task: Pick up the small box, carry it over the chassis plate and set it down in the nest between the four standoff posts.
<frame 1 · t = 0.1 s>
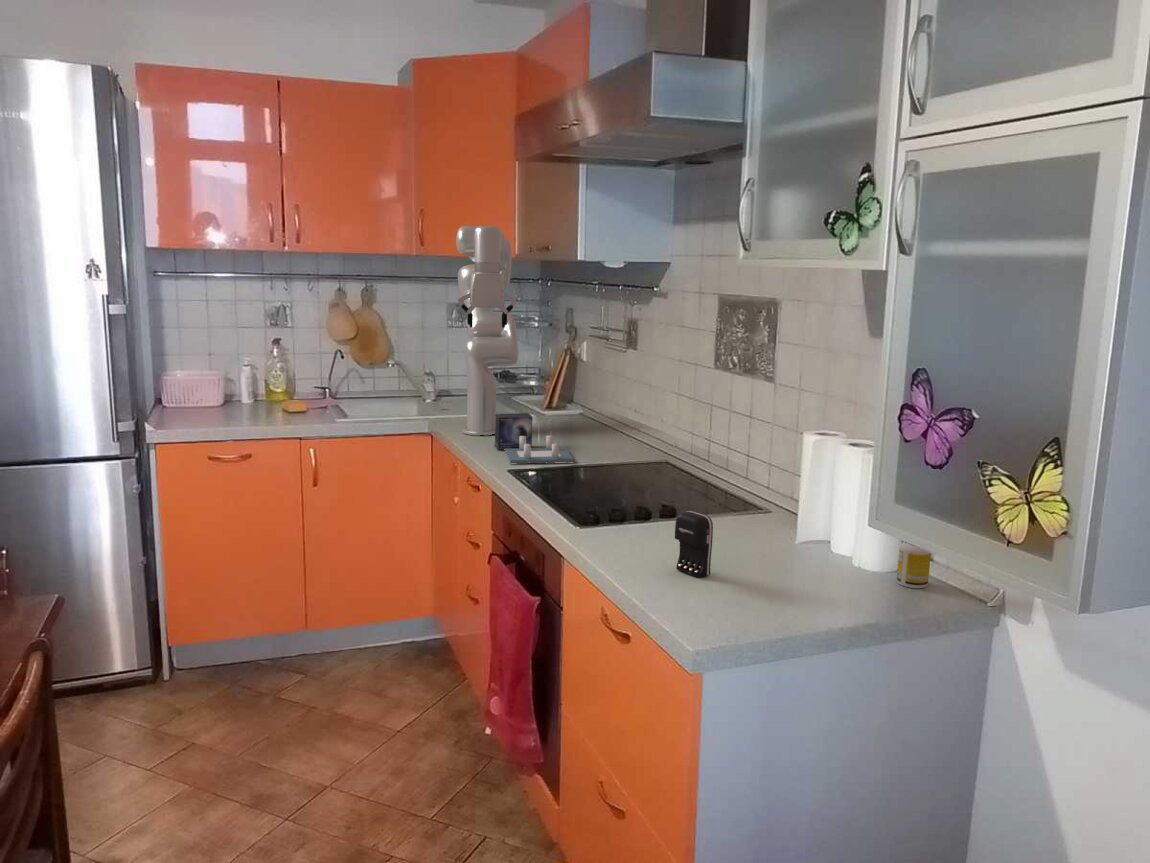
hand: (487, 327, 271), 37 cm above the worktop, tool pointing down, fingers open, 9 cm apart
supplement bottle: (911, 585, 166), on the worktop
battery charger: (690, 574, 169), on the worktop
chassis: (538, 457, 265), on the worktop
small box: (513, 449, 277), on the worktop
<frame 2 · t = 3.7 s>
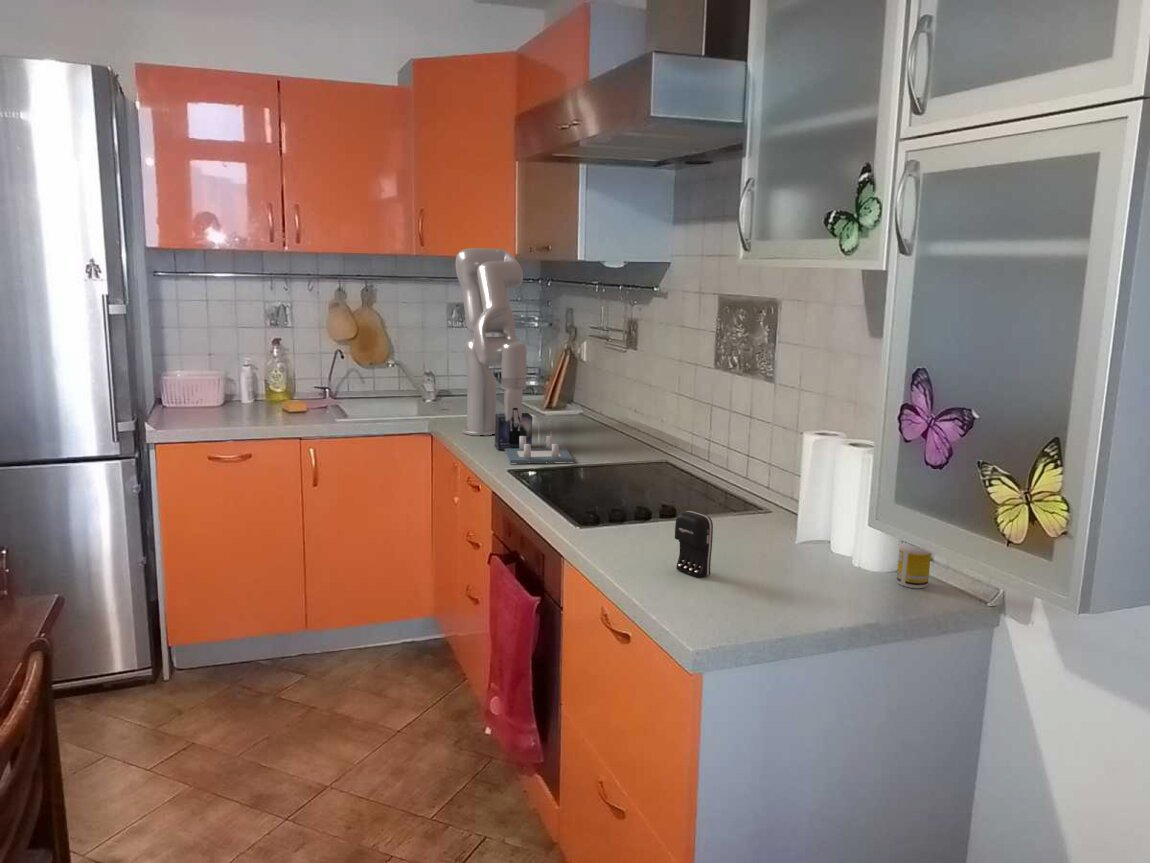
hand: (513, 441, 277), 2 cm above the worktop, tool pointing down, fingers closed on small box, 6 cm apart
small box: (513, 449, 277), on the worktop, touching gripper
everything else where it was.
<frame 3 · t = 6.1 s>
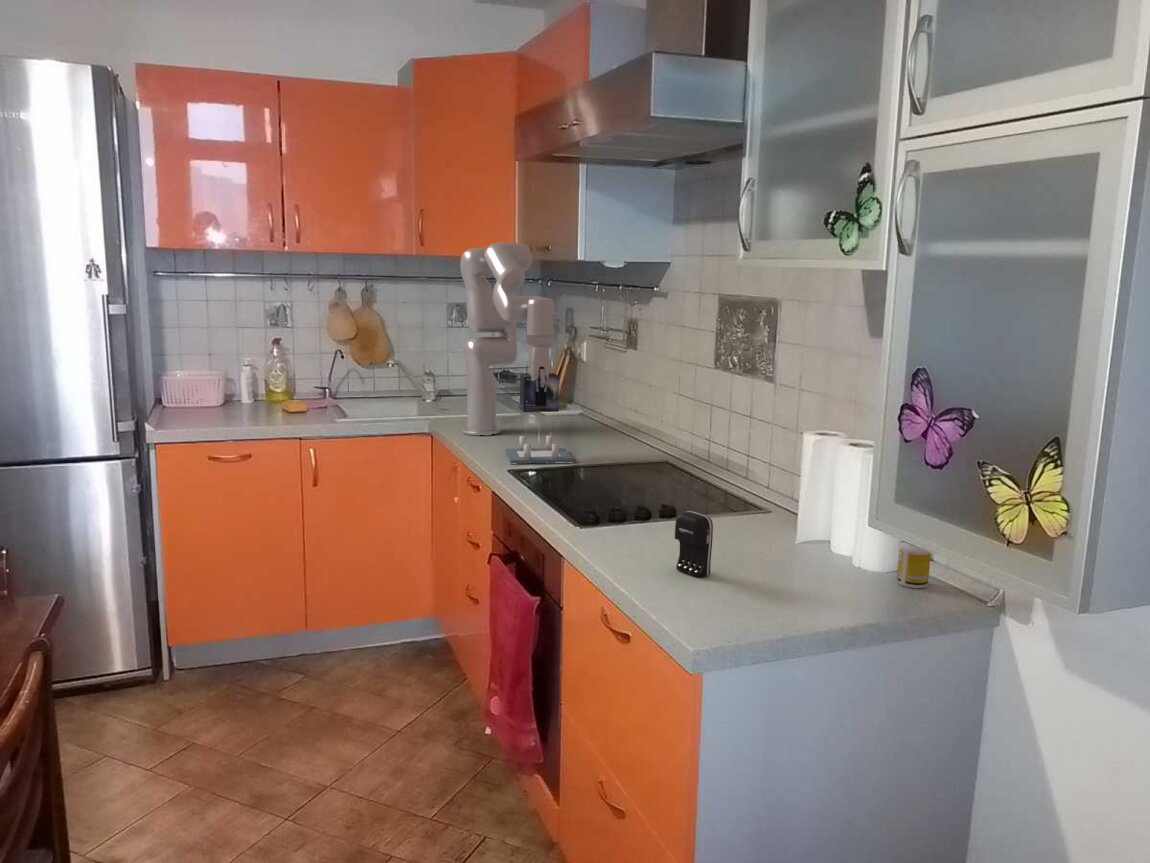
hand: (539, 403, 262), 16 cm above the worktop, tool pointing down, fingers closed on small box, 6 cm apart
small box: (539, 411, 262), point 14 cm above the worktop, touching gripper
everything else where it was.
when the fingers open (5 cm above the worktop, at t = 9.0 s): small box drops 1 cm, resting on chassis.
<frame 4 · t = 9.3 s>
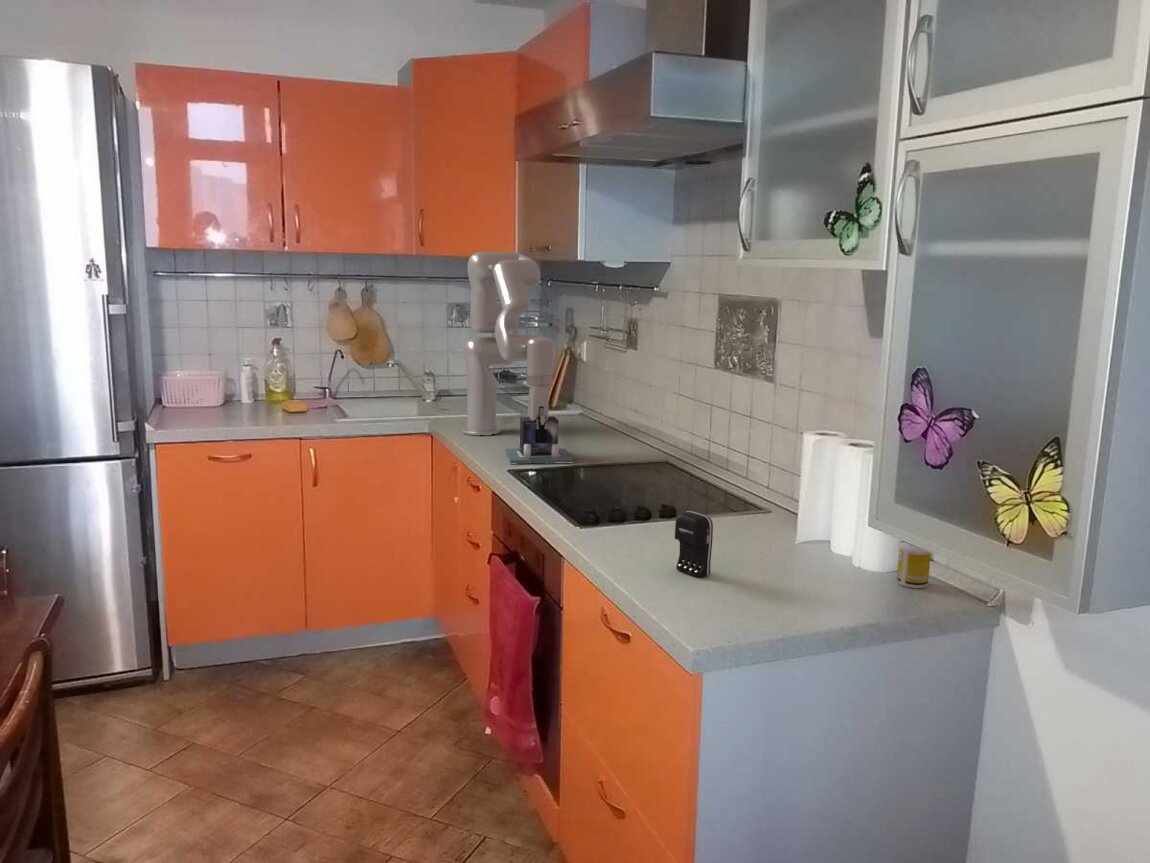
hand: (538, 439, 264), 5 cm above the worktop, tool pointing down, fingers open, 9 cm apart
small box: (538, 454, 264), point 1 cm above the worktop, touching chassis
everything else where it was.
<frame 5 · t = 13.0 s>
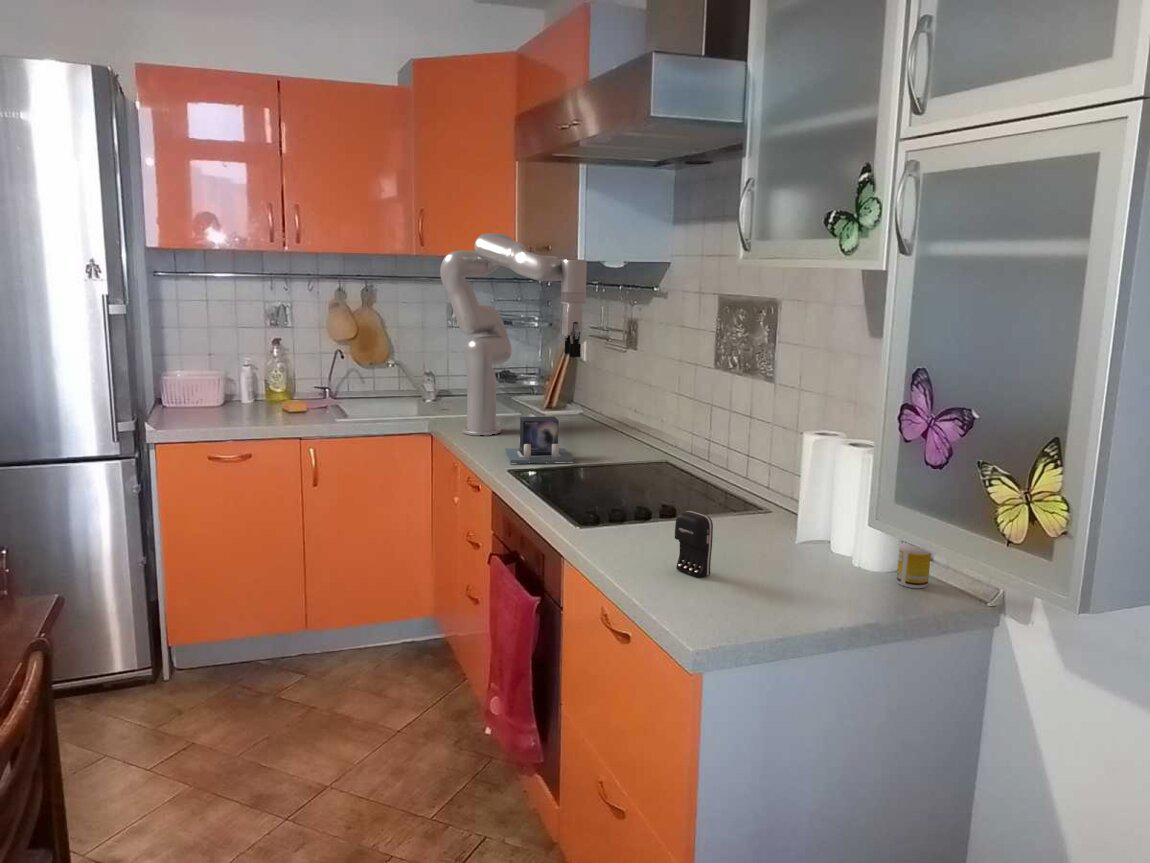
hand: (572, 355, 277), 28 cm above the worktop, tool pointing down, fingers open, 9 cm apart
nothing on the worktop moved.
at the end: small box inside the target area on the chassis (0.0 cm from its centre), point 1.0 cm above the chassis's base; small box tilted 0°; the gripper is holding nothing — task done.
